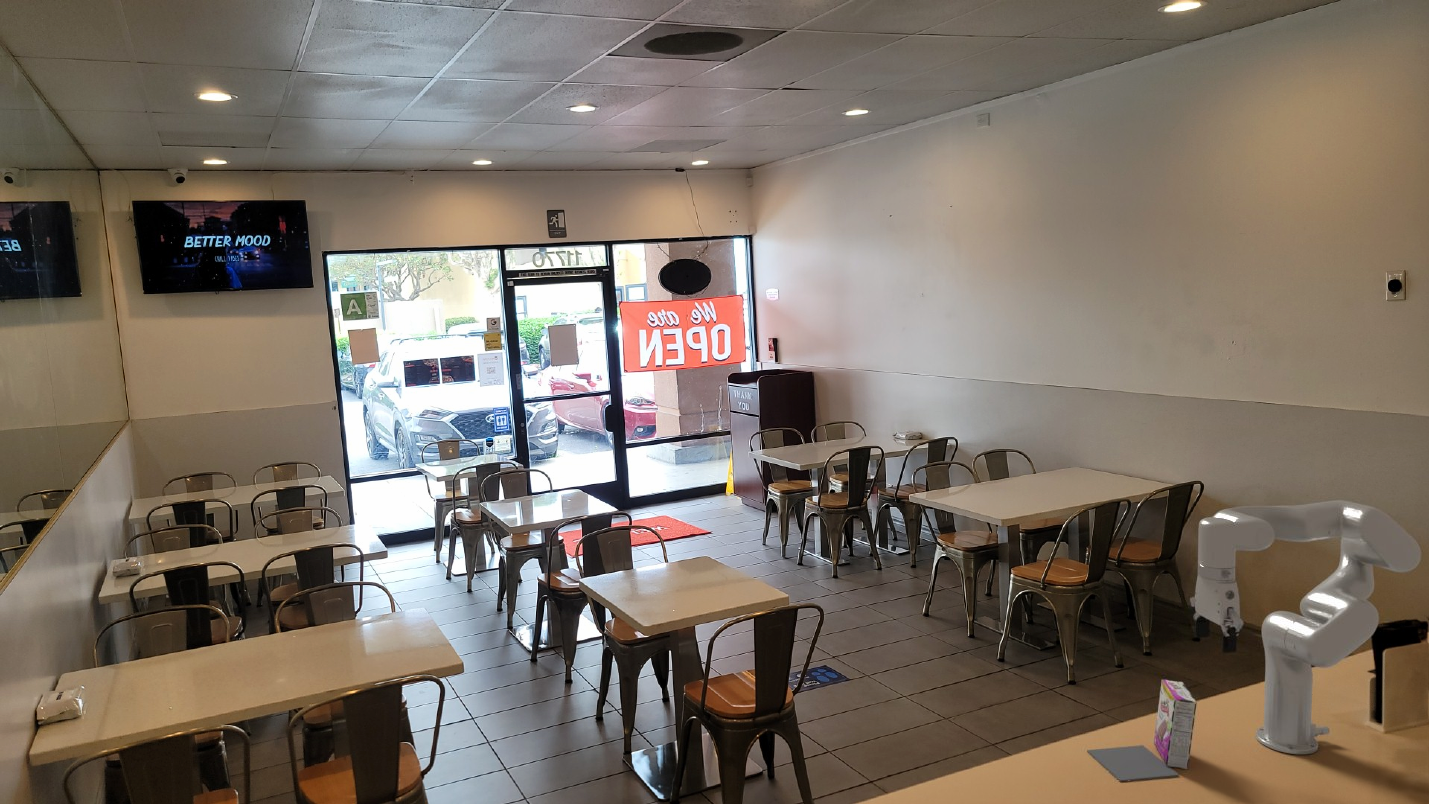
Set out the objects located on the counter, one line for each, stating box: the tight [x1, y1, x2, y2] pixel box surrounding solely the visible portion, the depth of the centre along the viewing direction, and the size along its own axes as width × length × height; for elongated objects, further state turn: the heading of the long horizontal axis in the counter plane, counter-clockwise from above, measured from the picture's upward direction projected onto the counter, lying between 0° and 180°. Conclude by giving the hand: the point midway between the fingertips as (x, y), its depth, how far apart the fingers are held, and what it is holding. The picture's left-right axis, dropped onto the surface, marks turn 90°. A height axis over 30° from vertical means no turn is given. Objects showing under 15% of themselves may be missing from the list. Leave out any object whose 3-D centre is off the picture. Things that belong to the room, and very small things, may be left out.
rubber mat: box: [1086, 744, 1180, 783], centre depth 210 cm, size 14×14×1 cm
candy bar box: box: [1153, 679, 1198, 770], centre depth 211 cm, size 11×5×16 cm, turn 168°
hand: (1215, 644), depth 211 cm, fingers open, 9 cm apart
